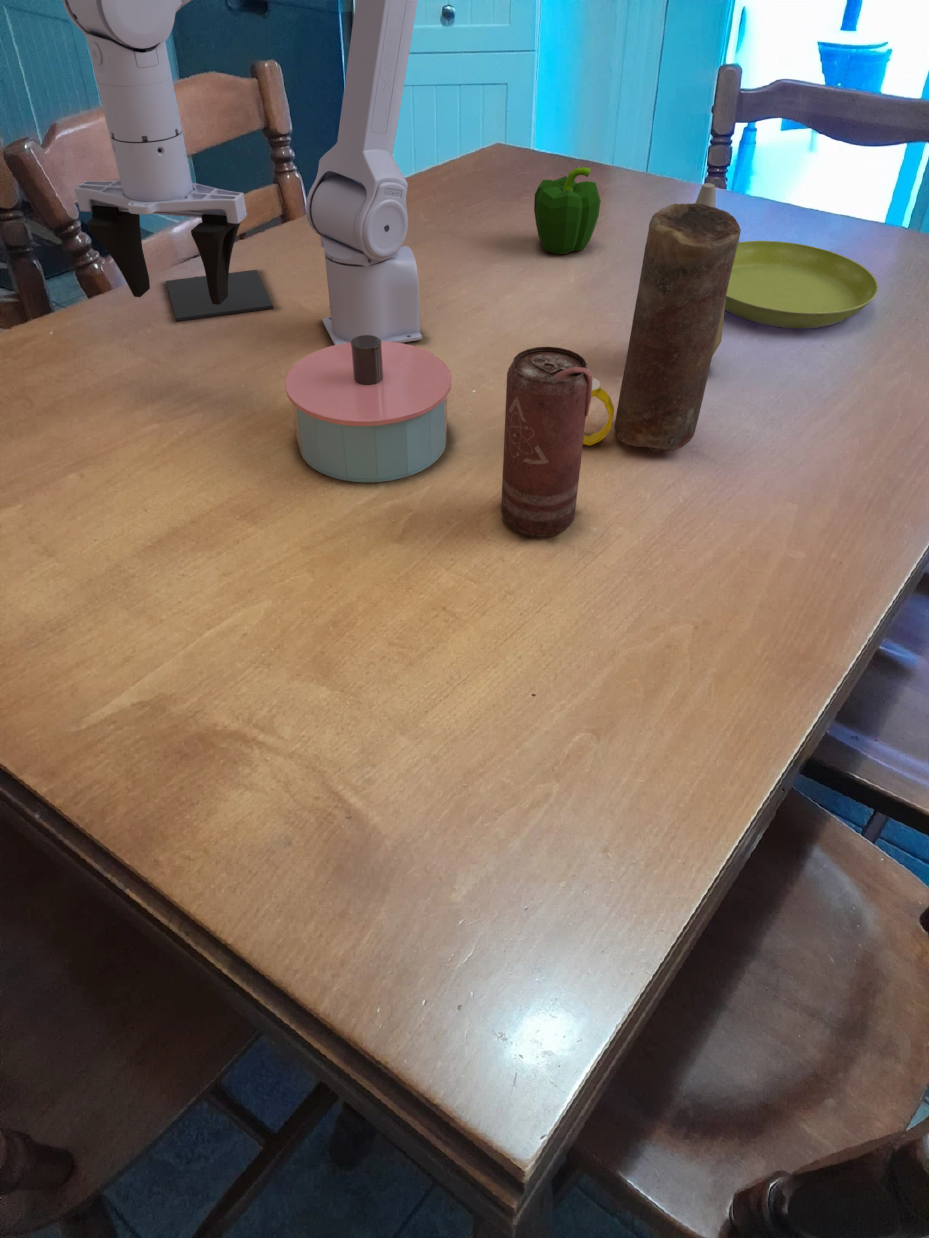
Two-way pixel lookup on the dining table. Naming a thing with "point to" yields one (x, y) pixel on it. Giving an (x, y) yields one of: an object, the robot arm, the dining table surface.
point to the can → (544, 439)
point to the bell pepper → (566, 212)
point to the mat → (242, 297)
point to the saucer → (796, 285)
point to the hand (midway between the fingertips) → (180, 296)
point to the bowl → (372, 446)
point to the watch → (610, 409)
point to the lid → (368, 382)
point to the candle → (675, 324)
